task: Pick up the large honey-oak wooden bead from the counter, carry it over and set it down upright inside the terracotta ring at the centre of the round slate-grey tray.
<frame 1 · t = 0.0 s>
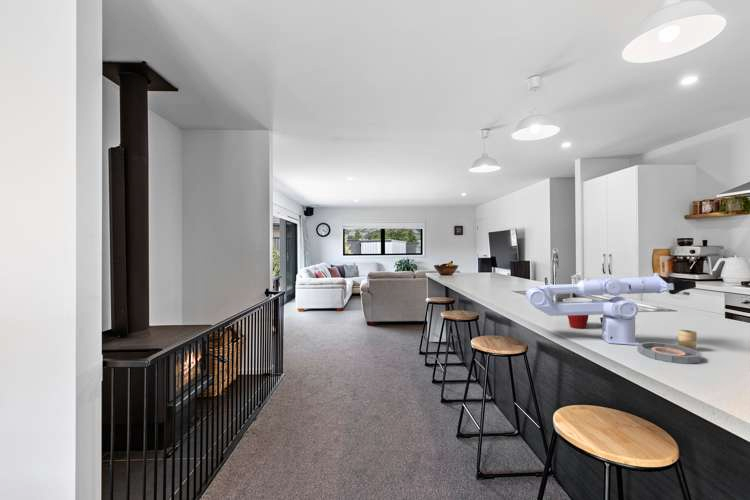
hand: (688, 282, 116), 22 cm above the countertop, tool horizontal, fingers open, 7 cm apart
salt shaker: (607, 328, 142), on the countertop
plastic cup: (577, 327, 143), on the countertop
round tray: (668, 355, 107), on the countertop
oak bead: (687, 349, 113), on the countertop
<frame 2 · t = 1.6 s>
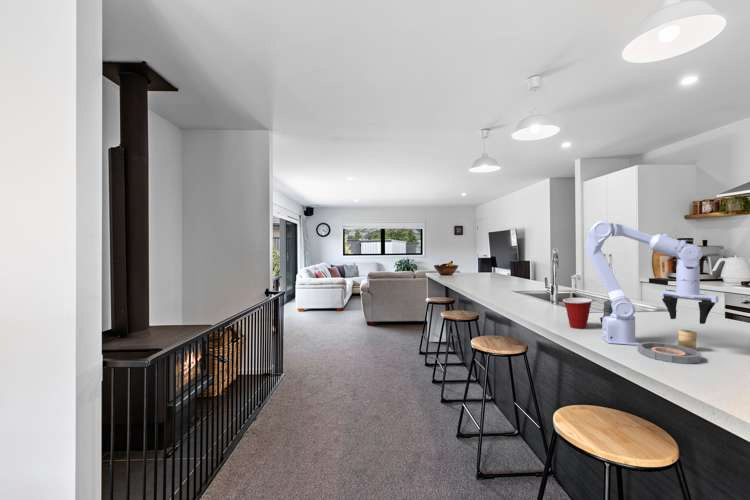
hand: (687, 321, 113), 9 cm above the countertop, tool pointing down, fingers open, 7 cm apart
nothing on the countertop moved.
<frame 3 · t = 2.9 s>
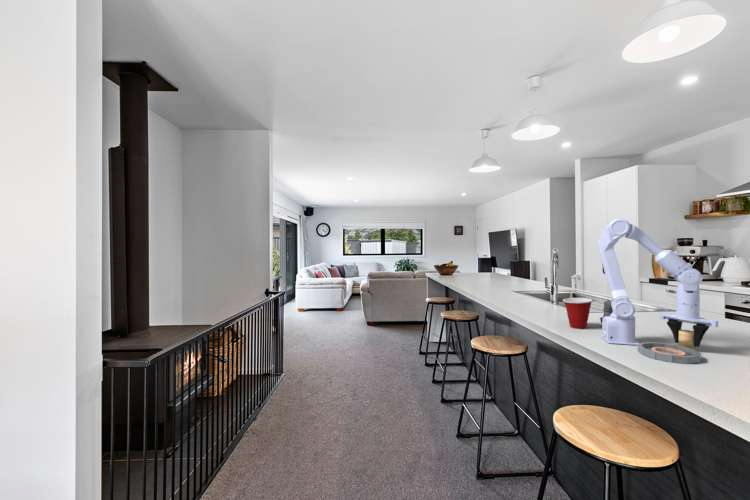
hand: (687, 344, 113), 2 cm above the countertop, tool pointing down, fingers closed on oak bead, 4 cm apart
oak bead: (687, 349, 113), on the countertop, touching gripper
everything else where it was.
when the fingers open (3 cm above the countertop, at t = 6.9 s): oak bead drops 1 cm, resting on round tray.
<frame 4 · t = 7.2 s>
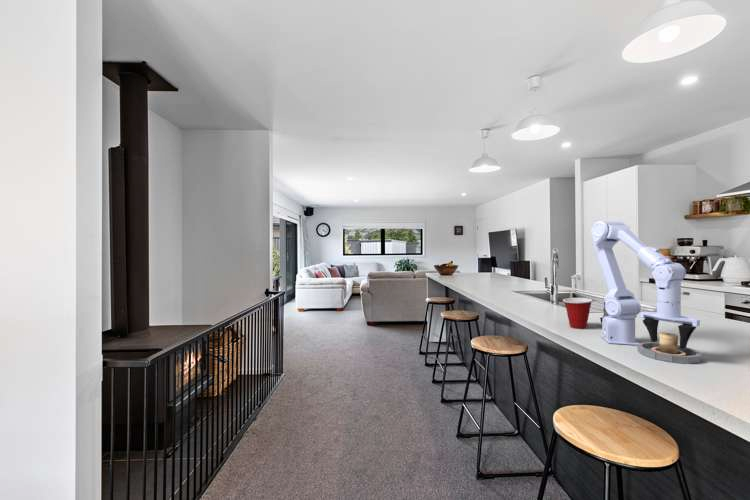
hand: (668, 344, 107), 3 cm above the countertop, tool pointing down, fingers open, 7 cm apart
oak bead: (668, 353, 107), point 1 cm above the countertop, touching round tray
everything else where it was.
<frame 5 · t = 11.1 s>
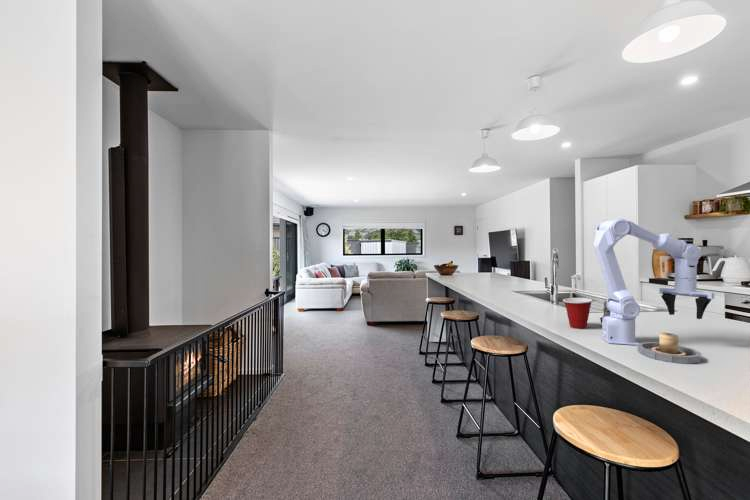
hand: (685, 316, 119), 9 cm above the countertop, tool pointing down, fingers open, 7 cm apart
nothing on the countertop moved.
at the end: oak bead 0.1 cm off-centre on the round tray, point 0.6 cm above the round tray's base; oak bead tilted 0°; the gripper is holding nothing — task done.
